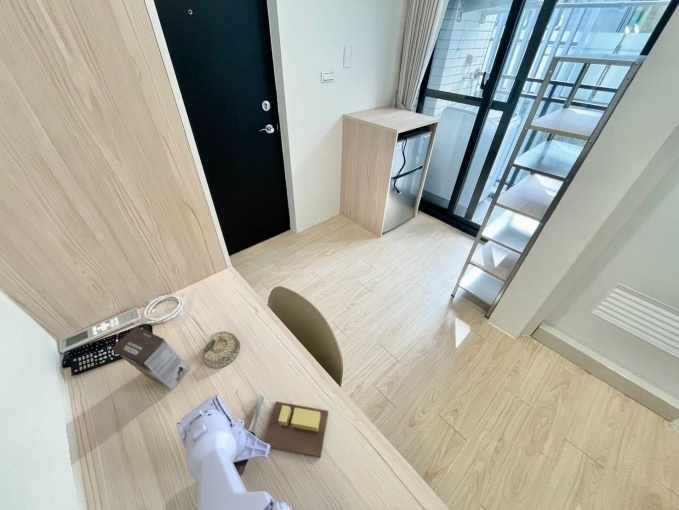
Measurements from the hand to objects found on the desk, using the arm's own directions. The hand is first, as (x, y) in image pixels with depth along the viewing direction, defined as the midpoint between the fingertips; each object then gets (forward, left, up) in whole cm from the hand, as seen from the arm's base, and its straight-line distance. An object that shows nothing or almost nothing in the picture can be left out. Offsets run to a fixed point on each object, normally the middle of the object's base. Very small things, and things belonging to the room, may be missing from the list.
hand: (242, 452), depth 58 cm
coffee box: (+14, +27, -2) cm, 30 cm away
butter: (+8, -12, -1) cm, 14 cm away
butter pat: (+8, -7, -1) cm, 11 cm away
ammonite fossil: (+22, +16, -2) cm, 27 cm away
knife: (+4, 0, -2) cm, 4 cm away
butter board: (+7, -10, -2) cm, 12 cm away
